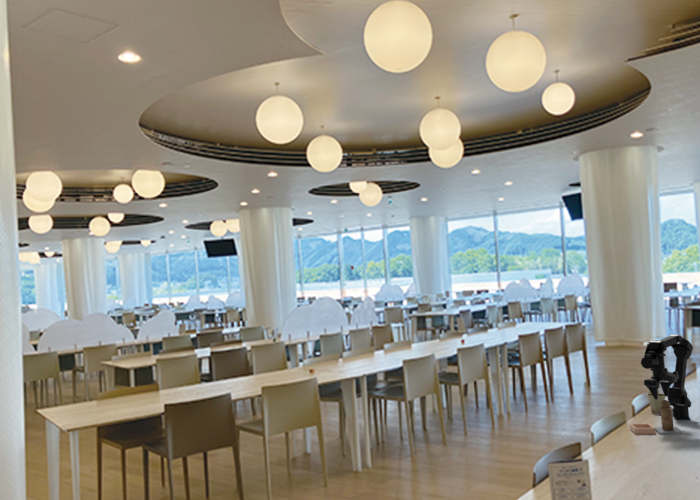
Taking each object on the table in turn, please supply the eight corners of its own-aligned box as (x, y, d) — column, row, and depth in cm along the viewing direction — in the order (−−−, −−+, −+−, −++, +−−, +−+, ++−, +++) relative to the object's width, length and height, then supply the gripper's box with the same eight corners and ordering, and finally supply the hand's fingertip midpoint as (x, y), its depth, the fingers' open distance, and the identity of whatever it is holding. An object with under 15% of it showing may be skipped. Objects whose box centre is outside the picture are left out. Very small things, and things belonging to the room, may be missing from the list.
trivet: (675, 428, 285) (675, 426, 285) (683, 434, 275) (683, 432, 275) (653, 428, 287) (653, 427, 287) (660, 434, 277) (659, 432, 277)
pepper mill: (669, 428, 283) (666, 398, 284) (676, 430, 279) (673, 400, 279) (660, 428, 283) (657, 399, 284) (666, 431, 278) (663, 401, 279)
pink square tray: (649, 428, 287) (649, 423, 287) (655, 433, 279) (655, 428, 279) (629, 429, 289) (629, 423, 289) (635, 433, 280) (634, 428, 280)
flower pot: (663, 408, 326) (661, 392, 326) (670, 412, 316) (669, 395, 317) (645, 409, 326) (643, 393, 327) (652, 413, 317) (650, 396, 318)
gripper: (664, 370, 283) (667, 403, 282) (684, 365, 293) (687, 396, 292) (641, 368, 292) (644, 400, 291) (662, 363, 302) (665, 394, 302)
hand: (661, 397), depth 294 cm, fingers open, 9 cm apart
